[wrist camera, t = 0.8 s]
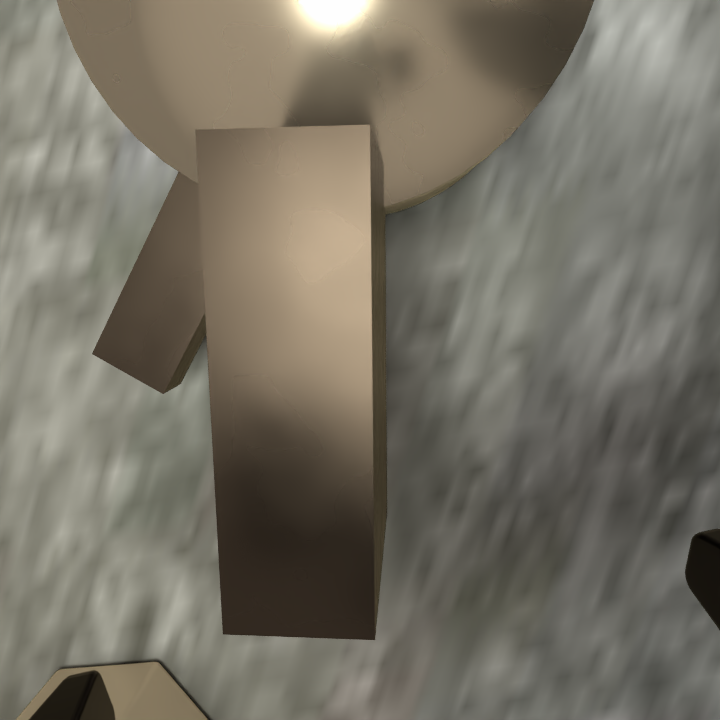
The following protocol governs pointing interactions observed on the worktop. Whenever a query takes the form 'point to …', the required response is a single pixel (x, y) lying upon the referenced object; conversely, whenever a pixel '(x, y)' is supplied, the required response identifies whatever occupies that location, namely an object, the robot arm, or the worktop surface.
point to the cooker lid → (311, 242)
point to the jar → (131, 693)
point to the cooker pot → (169, 295)
